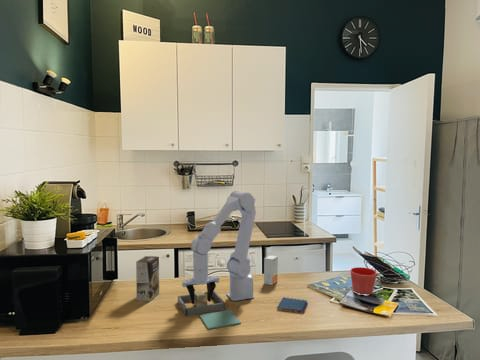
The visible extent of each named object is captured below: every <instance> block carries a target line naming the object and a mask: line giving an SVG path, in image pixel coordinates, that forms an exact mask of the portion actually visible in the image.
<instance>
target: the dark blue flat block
mask: <svg viewBox="0 0 480 360" xmlns="http://www.w3.org/2000/svg"><path fill="white" fill-rule="evenodd" d="M308 304H309V303H308V300H305V299H299V298H298V299H297V298H294V297H291V298H290V297H286V296H284V297H282V298H281V300H280V302H279V303H278V305H277V306H276V309H277V311H282V312H285V311H286V312H290V313H291V312H292V313H295V314H303V313H305V309H306V307H307V305H308Z"/></svg>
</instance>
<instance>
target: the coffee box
mask: <svg viewBox="0 0 480 360" xmlns="http://www.w3.org/2000/svg"><path fill="white" fill-rule="evenodd" d="M135 262H136V263H135V264H136V267H135V268H136V269H135V270H136V271H135V272H136V278H135V279H136V300H137V301H144V302H145V301H146V302H151V301H152V300H154V299H155V297H157V296H158V295H159V294H160V256H155V255H154V256H153V255H149V256H146V255H144V257H142V258H140V259H138V260H137V261H135Z"/></svg>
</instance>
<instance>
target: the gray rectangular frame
mask: <svg viewBox="0 0 480 360" xmlns="http://www.w3.org/2000/svg"><path fill="white" fill-rule="evenodd" d="M205 292H206V294H207V291H205ZM212 298H213V299H214V300H215V301H216V303H213V304H212V303H211V304H207V305H204V306H198V307H196V306H192V307H187V306H186V304H185V303H186V302H191V297H190V294H189V293H188V294H183V295H178V296H177V303H178V305H179V307H180V309H181V310H182V312H183V314H184V316H185V317H187V316H188V317H189V316H193V315H195V316H196V315H198V314H199V315H202V314H208V313H214V312H220V311H226V302H225V301H224V300H223V298H222V297H220V295H219V294H218V292H217V291H216V290H214V291H213V293H212V297H211V299H212ZM194 301H195V293H194Z"/></svg>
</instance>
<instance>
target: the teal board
mask: <svg viewBox="0 0 480 360" xmlns="http://www.w3.org/2000/svg"><path fill="white" fill-rule="evenodd" d="M199 318H200V319H201V321H202V322H203V324H204V326H205V327H206V328H207V330H214V329H219V328H224V327H230V326H236V325H241V324H242V321H240V319H239V318H238V316H236V314H234V312H233V311H232V310H231V309H228V310H220V311H214V312H208V313H202V314H199Z"/></svg>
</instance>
